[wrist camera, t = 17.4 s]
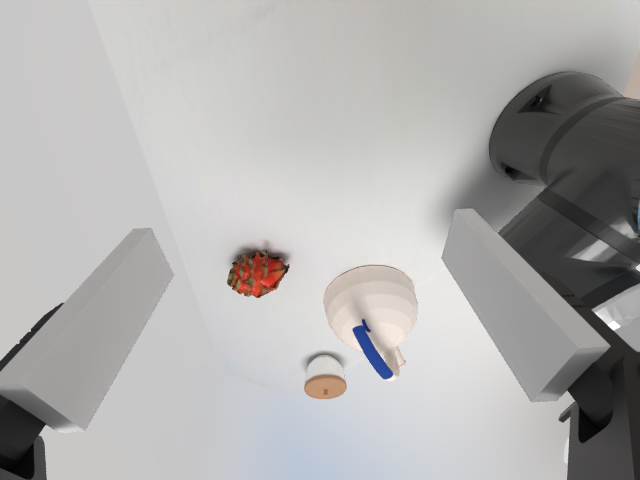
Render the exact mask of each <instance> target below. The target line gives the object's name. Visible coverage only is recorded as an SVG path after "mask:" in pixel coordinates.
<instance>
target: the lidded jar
mask: <svg viewBox="0 0 640 480" xmlns="http://www.w3.org/2000/svg"><path fill="white" fill-rule="evenodd" d="M304 390H305V392H306V394H307V395H309V396H310V397H313V398H317V399H331V398H335V397H338V396H340V395H342V394H343V393H344V392H345V391H346V382H345V375H344V371H343V369H342V366H341V365H340V363H339V362H338V361H337V360H336V359H335V358H334V357H332V356H330V355H319V356H317V357H315V358H314V359H313V361H312V362H311V363H310V364H309V366H308V368H307V370H306V375H305V387H304Z"/></svg>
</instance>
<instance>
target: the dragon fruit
mask: <svg viewBox="0 0 640 480" xmlns="http://www.w3.org/2000/svg"><path fill="white" fill-rule="evenodd" d="M261 252H262V254H264V255H265V256H264V257H262V258H261V257H260V253H259V252H254V253H253V254H251V257H250V258H247V256H245V255H240V256H242V257H243V259H244V261H243V262H242V263H241V262H238V261H236V262H233V263H232V264H233V267H234V268H232V269H231V270H230V272H229V275H228V280H227V283H228V285H229V286H230V287H233V288H232V289H233V290H235V291H237V292H238V293H239V294H242V293H244V296H248V297H249V296H251V295H253V296H255V297H256V298H259V297H261V296H263V295H265V294H267V293H269V292H270V291H273V290H275V289H277V287H278V285H279V283H280V281H281V280H282V278H283V277H284V275H285V274H286V273H287V272H288V268H289V264H288V266H285V265H284V264H283V260H282V259H281V258H279V257H276V256H272V257H274V258H273V259H279V260H270V259H268V257H269V253H267V251H266V250H262V251H261ZM240 256H239V259H240ZM254 256H255V257H254ZM253 257H254V258H253ZM285 263H286V262H285Z"/></svg>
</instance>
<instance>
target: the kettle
mask: <svg viewBox="0 0 640 480" xmlns="http://www.w3.org/2000/svg"><path fill="white" fill-rule="evenodd" d="M417 305H418V302H417V299H416V296H415V293H414V288H413V285H412V282H411V280H410V279H409V278H408V277H407V276H406V275H405V274H404V273H402V272H400V271H398V270H397V269H394V268H390V267H386V266H365V267H359V268H356V269H353V270H351V271H348V272H346V273H344V274H343V275H341V276H339V277H338V278H336V279H335V280H334V281H333V282H332V283H331V284H330V285H329V287H328V289H327V291H326V293H325V295H324V306H325V310H326V316H327V320H328V324H329V325H330V327H331V329H332V330H333V332H334V333H335V335H336V336H337V337H338V339H340V340H341V341H342V342H344V343H345V344H346V345H348V346H349V347H351V348H353V349H355V350H358V351H361V352H364V354H365V355H366V357H367V358H368V360H369V362H370V363H371V365H372V366H373V367H374V369H375V370H376V371H377V373H378V374H379V375H380V376H381V377H382V378H383V379H385V380H387V381H394V380H396V378H397V377H398V376H399V369H400V368H402V367H403V366H404V365H405V363H406V361H405V360H404V359H403V357H402V354H401V352H400V350H399V348H398V345H399V344H401V343H402V342H403V341H404V340H405V339H406V338H407V337H408V336H409V334H410V333H411V331H412V329H413V327H414V325H415V322H416V319H417V307H418V306H417ZM379 353H381V354H383V355H384V358H385V361H386V363H385V362H384V360H383V359H382V358H381V357H380V355H379Z"/></svg>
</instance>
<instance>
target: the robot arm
mask: <svg viewBox="0 0 640 480" xmlns="http://www.w3.org/2000/svg"><path fill="white" fill-rule="evenodd" d="M489 153H490V159H491V161H492V164H493V165H494V167H495V168H496V169H497V171H499V172H500V173H501V174H503V175H504V176H506V177H507V178H509V179H511V180H513V181H516V182H519V183H525V184H531V185H538V186H545V187H546V188H545V189H544V190H543V191H542V192H541V193H540V194H539V195H538V196H537V197H536V198H534V199H533V200H532V201H531V202H530V203H529V204H528V205H527V206H526V207H525V208H524V209H523V210H522V211H521V212H520V213H519V214H518V215H517V216H515V217H514V218H513V219H512V220H511V221H510V222H509V223H508V224H507V225H506V226H505V227H504V228H502V229H501V230H500V231H499V232H498V233H497V232H496V231H495V230H494V229H493V228H492V227H491V226H490V225H489V224H488V223H487V222H486V221H485V220H484V219H483V218H482V217H481V216H480V215H479V214H478V213H477V212H476V211H475V210H474V209H473V208H469V209H455V211H454V214H453V218H452V222H451V225H450V229H449V232H448V236H447V240H446V243H445V247H444V250H443V254H442V258H441V259H442V260H443V262H444V264H445V265H446V267H447V268H448V270H449V272H450V273H451V275H452V276H453V278H454V280H455V281H456V282H457V284H458V286H459V287H460V289H461V291H462V292H463V294H464V296H465V297H466V299H467V300H468V302H469V304H470V305H471V307H472V308H473V310H474V312H475V313H476V315H477V316H478V318H479V320H480V321H481V323H482V324H483V326H484V327H485V329H486V330H487V332H488V334H489V336H490V337H491V339H492V340H493V342H494V343H495V345H496V346H497V348H498V350H499V352H500V353H501V355H502V356H503V358H504V360H505V361H506V363H507V364H508V366H509V367H510V369H511V371H512V372H513V374H514V376H515V377H516V379H517V380H518V382H519V384H520V385H521V387H522V388H523V390H524V392H525V393H526V395H527V396H528V398H529V399H530V401H531V402H541V401H542V402H543V401H557V400H558V399H559V398H560V397H561V396H562V395H563V394H564V393H565V392H566V391H567V390H568V392H569V393H570V394H571V395H572V397H573V398H574V400H575V402H573V403H572V404H571V405H570V406H569V407H568V408H567V409H566V410H565V411H564V412H563V413H562V414H561V415H560V417H559V421H561V422H564V421H565V420H567V419H568V418H569V417H571V418H570V435H569V455H568V474H567V475H568V476H567V480H640V272H639V271H638V270H636V268H635V267H636V266H638V265H639V264H640V100H638V99H631V98H626V97H623V96H622V95H621V94H619V93H618V92H617V91H615V90H614V89H613V88H612V87H610V86H609V85H608V84H606V83H605V82H604V81H602V80H601V79H599V78H598V77H595V76H593V75H589V74H584V73H575V72H562V73H557V74H553V75H550V76H547V77H545V78H542V79H540V80H538V81H537V82H535V83H533V84H532V85H530V86H529V87H527V88H526V89H524V90H523V91H522V92H521V93H520V94H518V95H517V96H516V97H515V98H514V99H513V100H512V101H511V102H510V104H509V105H508V106H507V107H506V108H505V110H504V111H503V112H502V114H501V115H500V117H499V119H498V121H497V122H496V124H495V127H494V129H493V132H492V135H491V139H490V145H489ZM173 276H174V274H173V272H172V270H171V268H170V266H169V263H168V261H167V259H166V257H165V255H164V253H163V251H162V249H161V247H160V245H159V243H158V241H157V239H156V237H155V235H154V233H153V231H152V229H151V228H142V229H133V230H132V231H131V232H130V233H129V234H128V235H127V236H126V237H125V239H124V240H123V241H122V242H121V243H120V244H119V245H118V246H117V247H116V248H115V249H114V250H113V251H112V252H111V253H110V254H109V256H108V257H107V258H106V259H105V260H104V261H103V262H102V263H101V264H100V265H99V266H98V267H97V268H96V270H95V271H94V272H93V273H92V274H91V275H90V276H89V277H88V278H87V279H86V280H85V281H84V282H83V283H82V285H81V286H80V287H79V288H78V289H77V290H76V291H75V292H74V293H73V294H72V295H71V296H70V297H69V299H68V300H67V301H66V302H65V303H61V304H60V305H58V306H57V307H55V308H54V309H53V310H51V311H50V312H48V313H47V314H46V315H44V316H43V317H42V318H41V319H40V320H39V321H38V322H37V323H36V325H35V326H34V327H33V328H32V329H31V332H28V333H27V334H26V335H25V336H24V337H23V338H22V339H21V340H20V343H19V344H16V345H15V346H14V347H13V348H12V349H11V350H10V351H9V353H8V354H7V355H6V356H5V357H4V358H3V359H2V360H1V361H0V480H47V478H46V462H45V447H44V441H43V439H42V437H41V436H39V434H40V432H41V431H42V429H43V427H44V426H45V425H48V426H49V427H51V428H52V429H54V430H55V431H57V432H58V433H63V432H79V431H85V430H86V428H87V427H88V425H89V423H90V421H91V420H92V418H93V416H94V414H95V413H96V411H97V409H98V407H99V406H100V404H101V402H102V400H103V399H104V397H105V395H106V393H107V392H108V390H109V388H110V386H111V385H112V383H113V381H114V379H115V378H116V376H117V374H118V372H119V371H120V369H121V367H122V365H123V364H124V362H125V360H126V358H127V357H128V355H129V353H130V351H131V350H132V348H133V346H134V344H135V342H136V341H137V339H138V337H139V336H140V334H141V332H142V330H143V329H144V326H145V325H146V323H147V322H148V320H149V318H150V316H151V315H152V313H153V311H154V309H155V307H156V306H157V304H158V302H159V301H160V299H161V297H162V295H163V293H164V292H165V290H166V288H167V286H168V284H169V283H170V281H171V279H172V278H173Z"/></svg>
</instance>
